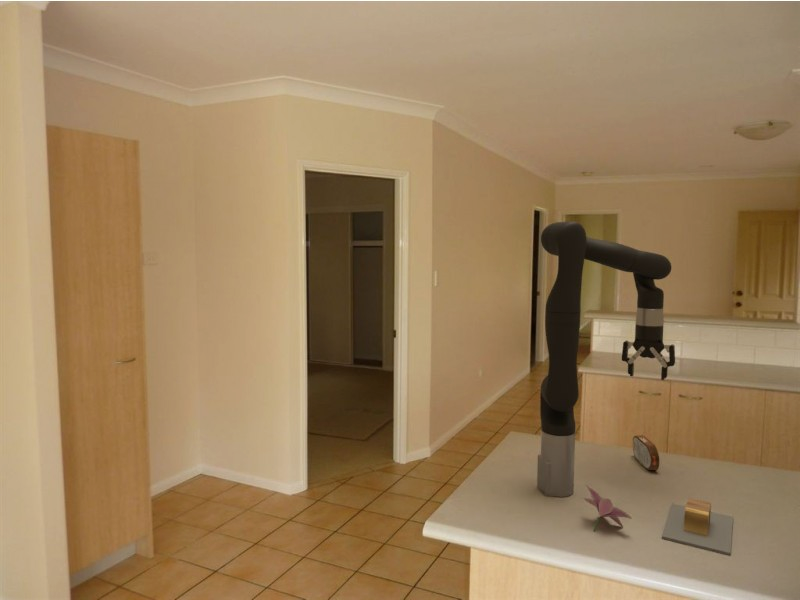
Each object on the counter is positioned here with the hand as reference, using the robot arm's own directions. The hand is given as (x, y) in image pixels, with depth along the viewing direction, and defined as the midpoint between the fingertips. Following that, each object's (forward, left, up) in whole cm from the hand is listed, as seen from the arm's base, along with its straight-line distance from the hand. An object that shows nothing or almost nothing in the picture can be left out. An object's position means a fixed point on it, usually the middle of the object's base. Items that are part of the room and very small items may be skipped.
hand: (647, 377), depth 167 cm
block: (-4, -28, -27) cm, 39 cm away
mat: (-6, -31, -30) cm, 44 cm away
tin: (+6, +8, -30) cm, 32 cm away
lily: (-28, -25, -30) cm, 49 cm away
